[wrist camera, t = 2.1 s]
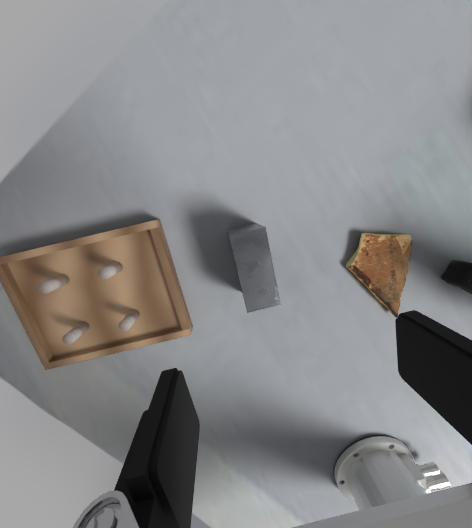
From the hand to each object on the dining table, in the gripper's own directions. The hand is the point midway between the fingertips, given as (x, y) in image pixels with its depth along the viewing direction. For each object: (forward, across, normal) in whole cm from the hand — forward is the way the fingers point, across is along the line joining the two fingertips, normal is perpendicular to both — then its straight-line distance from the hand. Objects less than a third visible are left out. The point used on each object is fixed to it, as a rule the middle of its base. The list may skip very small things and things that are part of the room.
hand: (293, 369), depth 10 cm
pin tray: (+19, +18, 0) cm, 26 cm away
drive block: (+19, 0, 0) cm, 19 cm away
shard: (+20, -18, +5) cm, 27 cm away
